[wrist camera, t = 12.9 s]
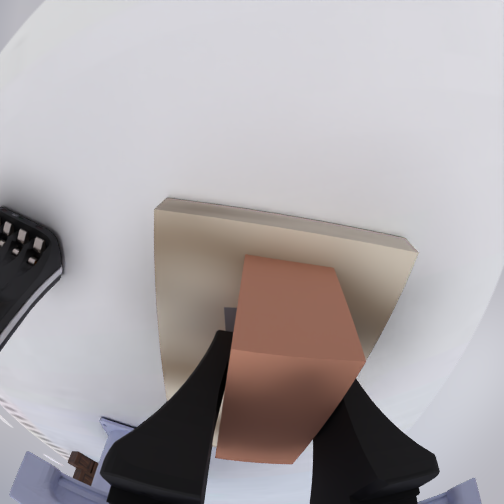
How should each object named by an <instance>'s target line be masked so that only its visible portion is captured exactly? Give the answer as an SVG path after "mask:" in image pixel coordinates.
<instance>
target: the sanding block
mask: <svg viewBox="0 0 504 504" xmlns="http://www.w3.org/2000/svg"><path fill="white" fill-rule="evenodd" d="M365 362H366V359H365V356H364V352H363V349H362V346H361V343H360V340H359V337H358V334H357V331H356V328H355V325H354V322H353V319H352V316H351V313H350V311H349V308H348V305H347V302H346V299H345V296H344V294H343V291H342V288H341V286H340V283H339V280H338V277H337V275H336V272H335V270H334V268H332V267H325V266H319V265H312V264H306V263H299V262H292V261H286V260H279V259H273V258H266V257H260V256H253V255H247V254H245V259H244V265H243V272H242V278H241V285H240V292H239V298H238V305H237V311H236V318H235V325H234V331H233V338H232V345H231V352H230V359H229V365H228V372H227V379H226V386H225V392H224V399H223V406H222V413H221V420H220V427H219V434H218V441H217V449H216V456H215V458H219V459H226V460H235V461H244V462H255V463H271V464H293V463H294V462H295V460H296V459H297V458H298V457H299V456H300V454H301V453H302V452H303V451H304V450H305V448H306V447H307V446H308V445H309V443H310V442H311V441H312V440H313V438H314V437H315V436H316V435H317V433H318V432H319V431H320V429H321V428H322V427H323V425H324V424H325V423H326V421H327V420H328V419H329V417H330V416H331V414H332V413H333V412H334V410H335V409H336V407H337V406H338V404H339V403H340V402H341V400H342V399H343V397H344V396H345V394H346V393H347V391H348V390H349V388H350V387H351V385H352V383H353V382H354V380H355V379H356V377H357V376H358V374H359V372H360V371H361V369H362V367H363V366H364V364H365Z"/></svg>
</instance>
